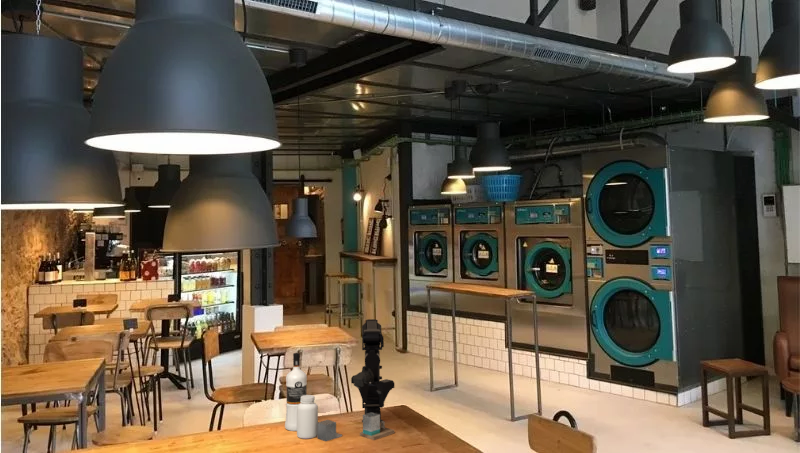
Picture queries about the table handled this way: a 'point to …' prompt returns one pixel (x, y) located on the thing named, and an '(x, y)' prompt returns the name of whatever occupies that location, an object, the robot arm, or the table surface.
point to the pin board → (383, 432)
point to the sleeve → (371, 423)
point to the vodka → (294, 392)
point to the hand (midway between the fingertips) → (372, 404)
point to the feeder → (327, 430)
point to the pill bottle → (307, 417)
